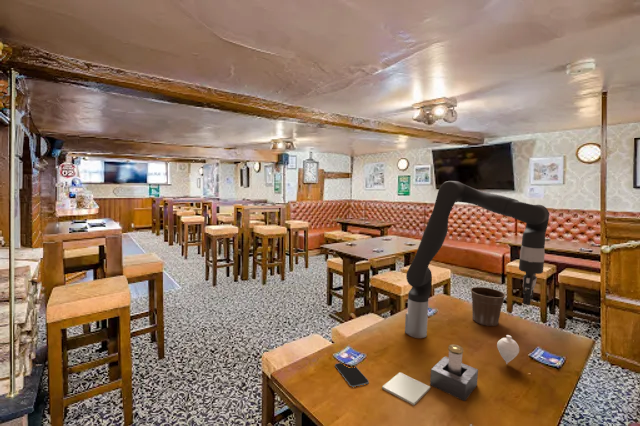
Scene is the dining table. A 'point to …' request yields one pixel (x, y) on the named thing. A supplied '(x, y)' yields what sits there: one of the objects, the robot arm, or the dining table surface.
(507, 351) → the spinning top
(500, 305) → the plant pot
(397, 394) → the cream pad
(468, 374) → the eye block
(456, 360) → the steel peg
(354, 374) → the smartphone
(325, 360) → the dining table surface
